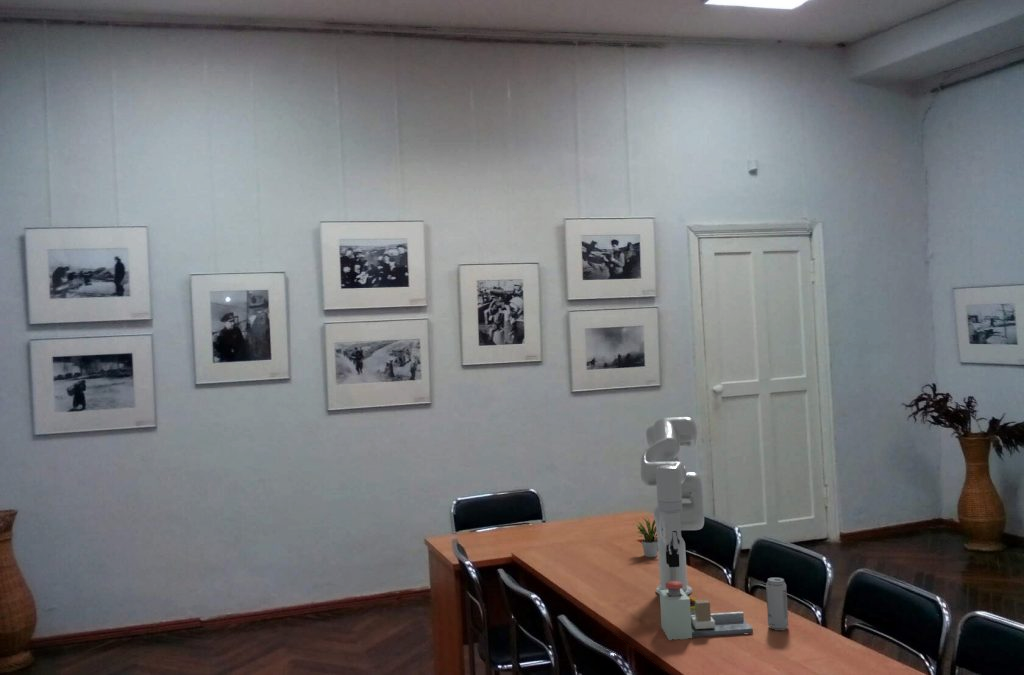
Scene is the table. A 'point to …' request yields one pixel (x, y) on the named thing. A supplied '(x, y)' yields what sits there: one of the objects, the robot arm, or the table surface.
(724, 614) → the track
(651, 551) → the house plant
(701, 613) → the carriage
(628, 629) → the table surface
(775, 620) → the energy drink can
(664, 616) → the cabinet
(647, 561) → the table surface
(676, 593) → the button
